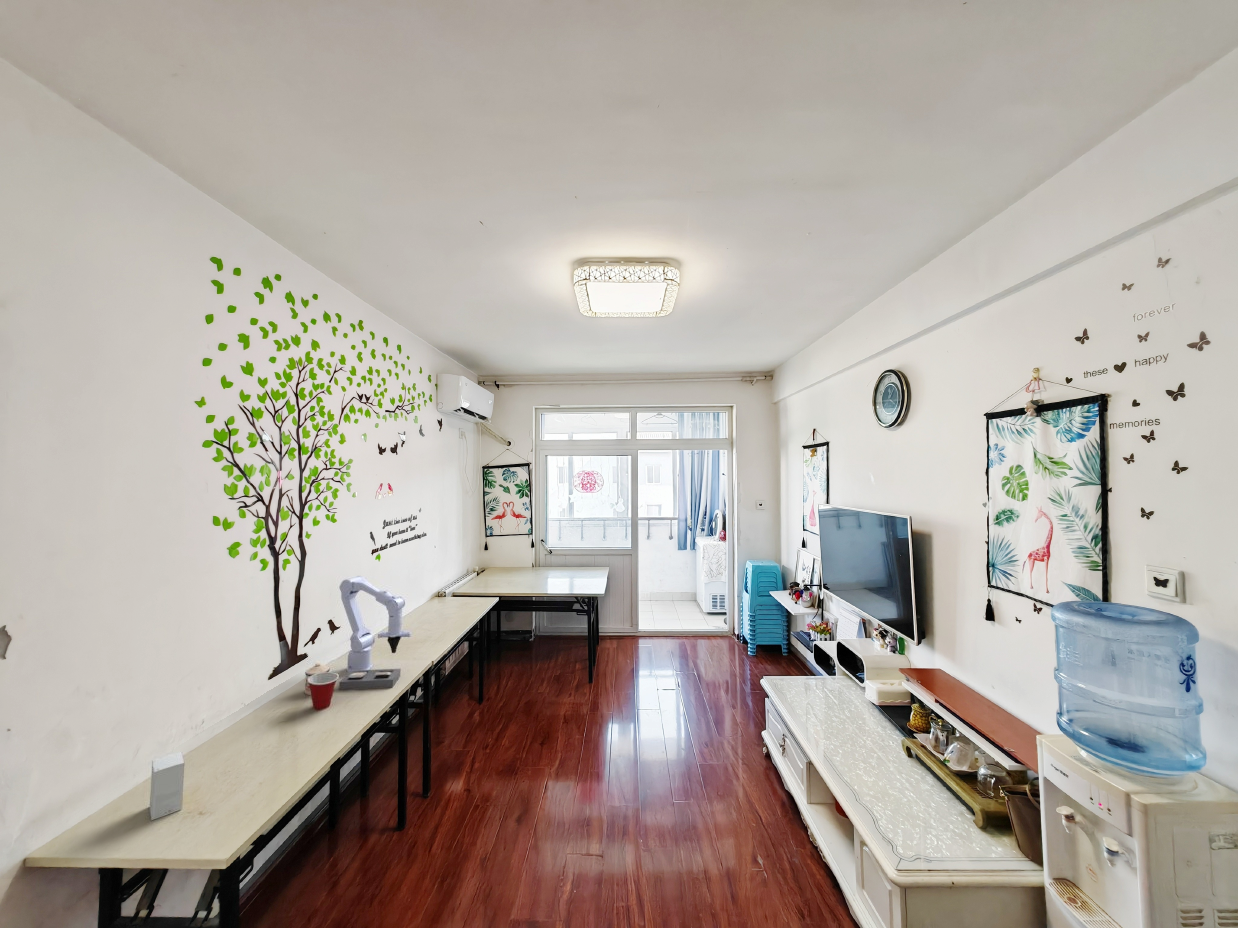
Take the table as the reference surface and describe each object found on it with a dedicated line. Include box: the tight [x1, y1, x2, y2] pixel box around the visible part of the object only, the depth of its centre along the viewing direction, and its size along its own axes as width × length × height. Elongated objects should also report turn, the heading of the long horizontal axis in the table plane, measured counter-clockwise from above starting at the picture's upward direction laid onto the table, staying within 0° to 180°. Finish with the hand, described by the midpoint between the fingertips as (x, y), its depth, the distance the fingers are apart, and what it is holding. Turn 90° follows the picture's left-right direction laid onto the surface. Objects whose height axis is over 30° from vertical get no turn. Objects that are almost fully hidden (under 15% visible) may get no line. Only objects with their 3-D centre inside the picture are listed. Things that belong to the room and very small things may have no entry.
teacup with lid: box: [304, 662, 331, 696], centre depth 207 cm, size 12×9×12 cm
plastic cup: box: [308, 671, 340, 711], centre depth 193 cm, size 11×11×12 cm
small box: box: [149, 751, 185, 821], centre depth 134 cm, size 8×6×13 cm
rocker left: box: [349, 672, 367, 678], centre depth 215 cm, size 5×8×1 cm, turn 10°
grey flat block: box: [338, 668, 402, 691], centre depth 215 cm, size 22×12×4 cm, turn 100°
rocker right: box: [375, 672, 392, 676], centre depth 216 cm, size 5×8×1 cm, turn 10°
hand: (393, 652), depth 227 cm, fingers closed
